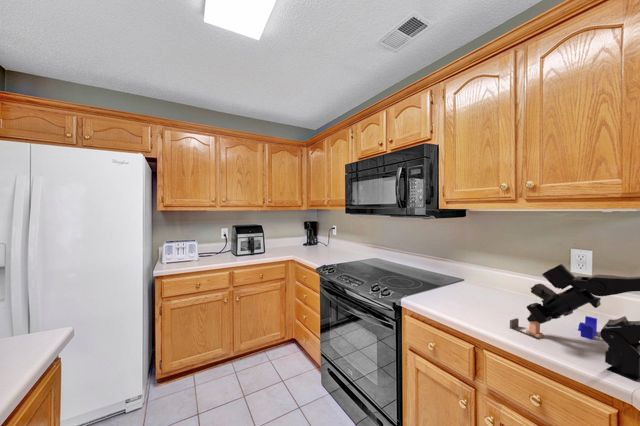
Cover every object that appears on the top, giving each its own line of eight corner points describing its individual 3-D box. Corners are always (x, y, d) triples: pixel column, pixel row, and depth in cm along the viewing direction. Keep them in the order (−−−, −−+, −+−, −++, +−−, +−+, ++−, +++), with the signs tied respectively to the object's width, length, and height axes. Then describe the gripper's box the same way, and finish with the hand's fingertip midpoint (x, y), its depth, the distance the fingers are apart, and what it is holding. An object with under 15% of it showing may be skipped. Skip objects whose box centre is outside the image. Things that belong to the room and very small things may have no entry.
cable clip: (580, 329, 104) (580, 314, 104) (596, 333, 101) (597, 318, 100) (574, 338, 97) (575, 322, 97) (592, 343, 93) (592, 327, 93)
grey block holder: (547, 341, 94) (547, 329, 94) (539, 344, 92) (539, 331, 92) (516, 329, 103) (517, 318, 103) (509, 331, 101) (509, 320, 101)
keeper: (542, 336, 95) (543, 312, 95) (538, 338, 94) (539, 313, 94) (530, 331, 99) (531, 308, 98) (525, 333, 97) (526, 309, 97)
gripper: (563, 276, 96) (528, 296, 106) (534, 281, 88) (499, 302, 99) (591, 304, 89) (550, 323, 99) (562, 313, 81) (521, 332, 92)
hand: (530, 319), depth 97 cm, fingers closed on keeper, 3 cm apart
